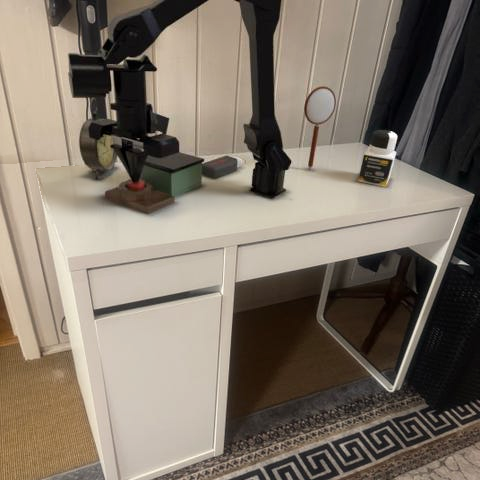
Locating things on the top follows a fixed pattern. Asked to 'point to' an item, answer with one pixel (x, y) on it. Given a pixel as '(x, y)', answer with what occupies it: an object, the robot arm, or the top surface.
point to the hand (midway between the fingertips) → (135, 181)
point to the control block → (140, 197)
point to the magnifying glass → (318, 112)
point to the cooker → (173, 179)
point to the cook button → (135, 184)
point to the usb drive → (220, 167)
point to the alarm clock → (96, 147)
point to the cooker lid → (173, 162)
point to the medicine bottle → (379, 158)
